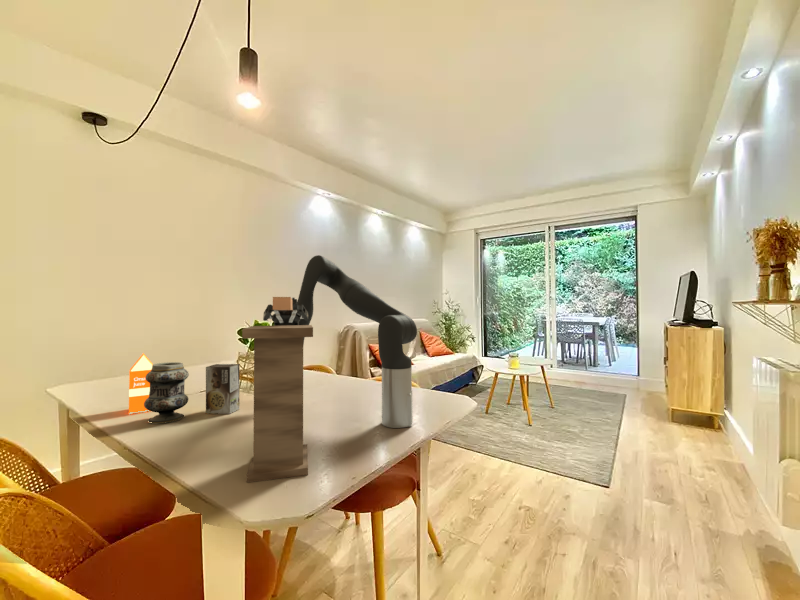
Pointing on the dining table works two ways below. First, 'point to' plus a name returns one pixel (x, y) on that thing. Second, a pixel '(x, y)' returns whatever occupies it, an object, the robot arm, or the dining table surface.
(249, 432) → the dining table surface
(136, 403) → the orange juice
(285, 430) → the stand
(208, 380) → the coffee box
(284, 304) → the block
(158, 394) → the apothecary jar
